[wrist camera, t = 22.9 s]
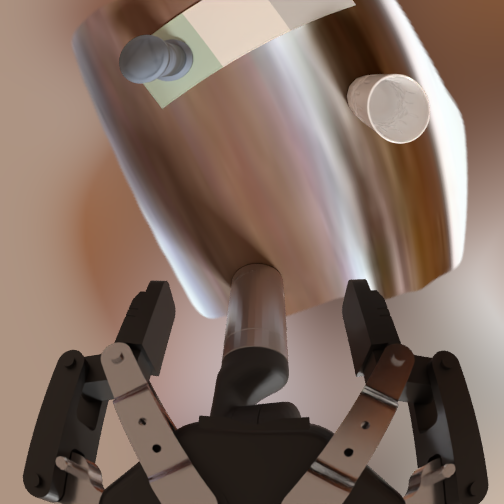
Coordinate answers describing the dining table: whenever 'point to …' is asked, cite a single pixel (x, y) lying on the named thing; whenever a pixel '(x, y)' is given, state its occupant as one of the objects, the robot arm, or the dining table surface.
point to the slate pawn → (155, 59)
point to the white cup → (390, 105)
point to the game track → (232, 34)
